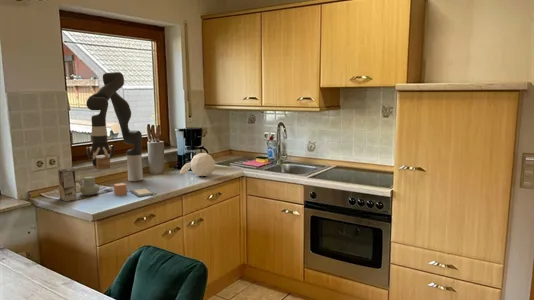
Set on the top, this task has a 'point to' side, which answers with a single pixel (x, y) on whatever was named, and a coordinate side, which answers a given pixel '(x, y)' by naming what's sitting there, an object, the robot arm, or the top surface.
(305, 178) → the top surface
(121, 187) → the terracotta cube
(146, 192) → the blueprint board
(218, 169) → the top surface
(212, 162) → the cream rounded faceted piece
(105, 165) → the walnut block
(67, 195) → the coffee box
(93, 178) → the air freshener
